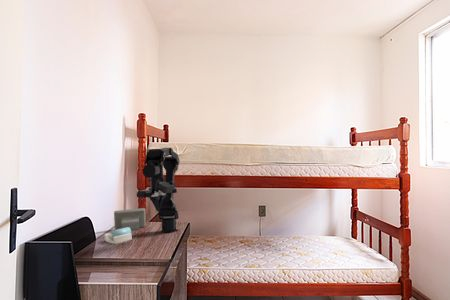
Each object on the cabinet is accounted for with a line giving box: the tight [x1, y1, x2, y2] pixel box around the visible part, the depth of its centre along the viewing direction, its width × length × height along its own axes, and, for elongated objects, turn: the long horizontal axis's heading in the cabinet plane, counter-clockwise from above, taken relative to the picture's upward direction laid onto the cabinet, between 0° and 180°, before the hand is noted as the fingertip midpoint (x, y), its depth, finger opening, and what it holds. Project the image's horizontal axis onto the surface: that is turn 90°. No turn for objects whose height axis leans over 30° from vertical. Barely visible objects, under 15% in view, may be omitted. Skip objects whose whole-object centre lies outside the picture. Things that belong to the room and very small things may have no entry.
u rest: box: [103, 232, 133, 245], centre depth 140 cm, size 8×10×3 cm
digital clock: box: [113, 207, 146, 231], centre depth 164 cm, size 16×9×11 cm, turn 97°
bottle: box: [108, 227, 132, 241], centre depth 141 cm, size 5×5×10 cm
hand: (158, 211), depth 138 cm, fingers closed
